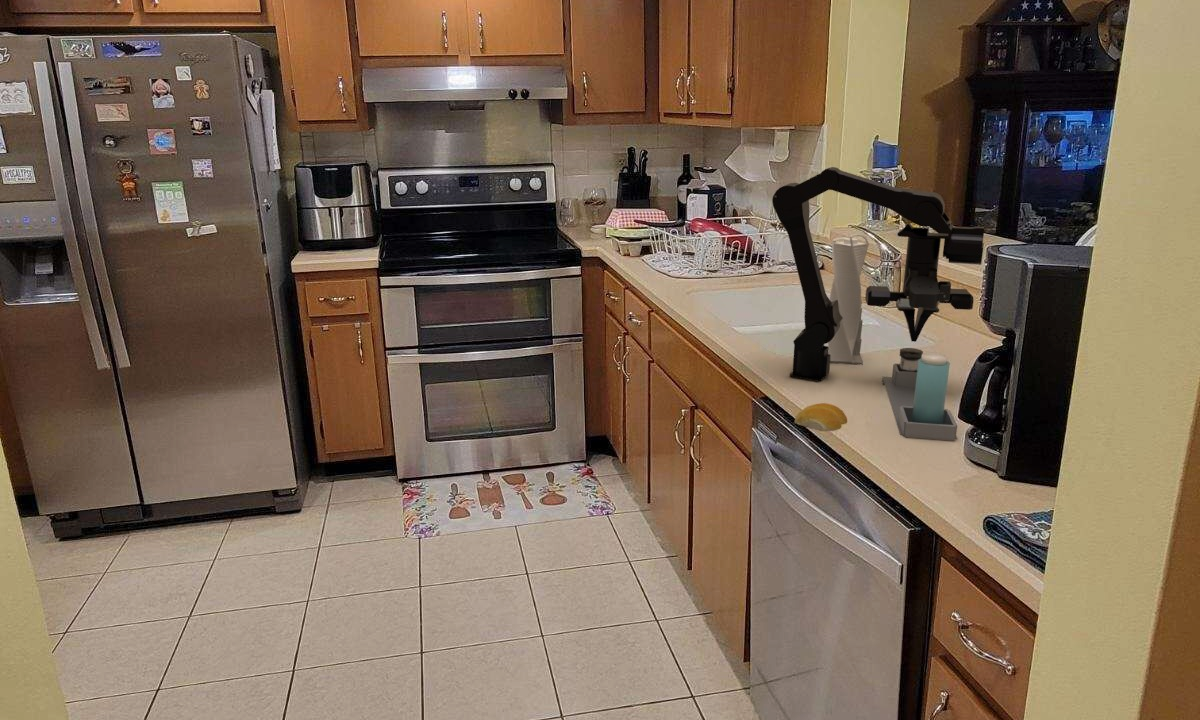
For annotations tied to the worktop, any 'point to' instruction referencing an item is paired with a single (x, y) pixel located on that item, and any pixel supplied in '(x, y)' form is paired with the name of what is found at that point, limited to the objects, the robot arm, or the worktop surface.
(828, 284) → the worktop surface
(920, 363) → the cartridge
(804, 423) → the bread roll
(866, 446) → the worktop surface
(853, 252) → the skyscraper
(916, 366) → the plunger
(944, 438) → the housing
